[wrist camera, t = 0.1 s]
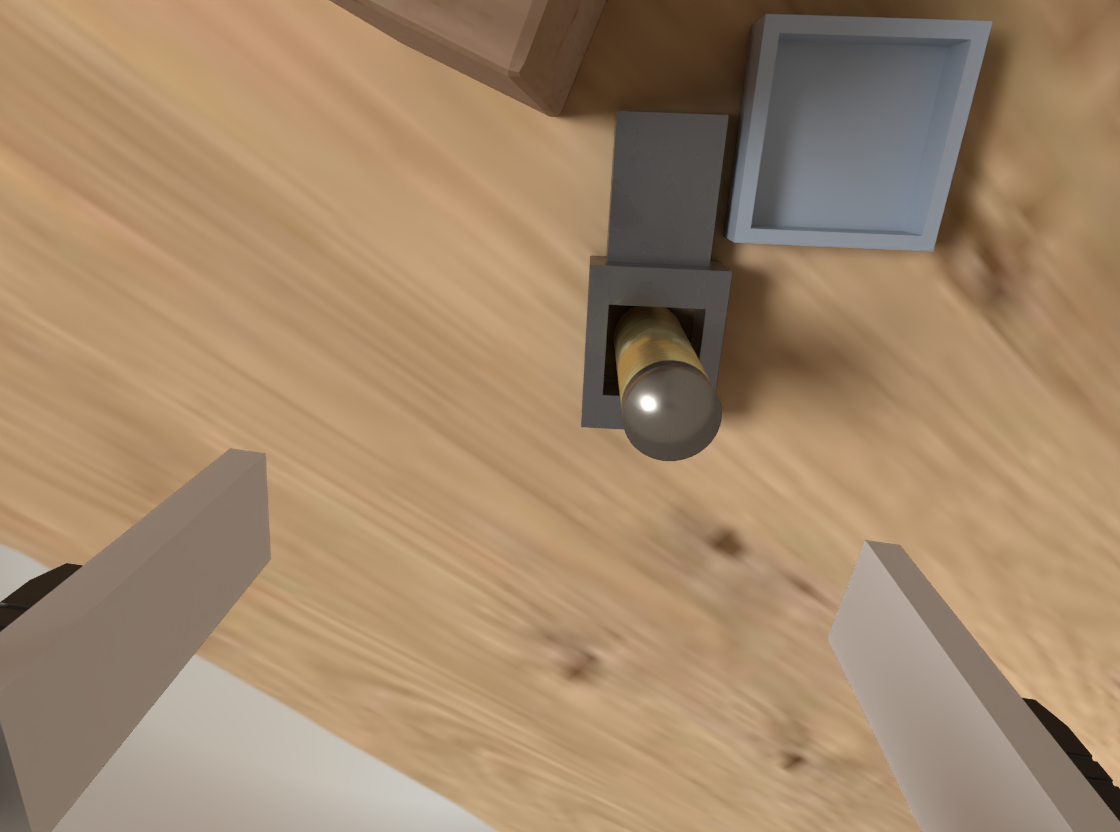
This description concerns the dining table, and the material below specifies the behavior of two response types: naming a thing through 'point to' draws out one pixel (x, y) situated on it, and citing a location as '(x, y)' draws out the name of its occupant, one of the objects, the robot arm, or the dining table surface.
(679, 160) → the bar
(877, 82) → the tray
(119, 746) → the robot arm
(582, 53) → the wooden block
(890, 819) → the dining table surface
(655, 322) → the pin
